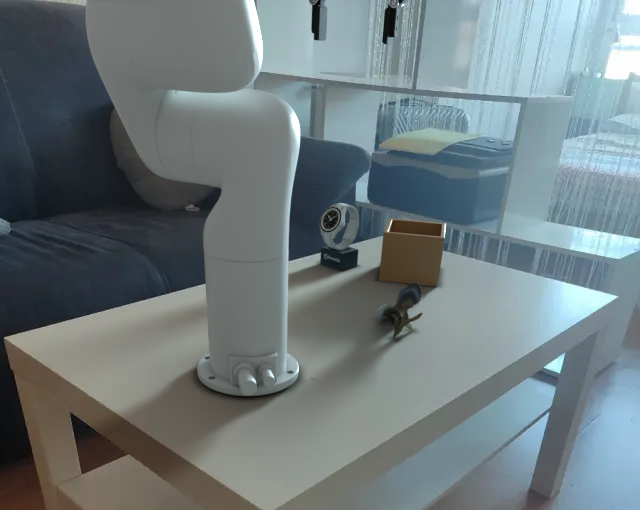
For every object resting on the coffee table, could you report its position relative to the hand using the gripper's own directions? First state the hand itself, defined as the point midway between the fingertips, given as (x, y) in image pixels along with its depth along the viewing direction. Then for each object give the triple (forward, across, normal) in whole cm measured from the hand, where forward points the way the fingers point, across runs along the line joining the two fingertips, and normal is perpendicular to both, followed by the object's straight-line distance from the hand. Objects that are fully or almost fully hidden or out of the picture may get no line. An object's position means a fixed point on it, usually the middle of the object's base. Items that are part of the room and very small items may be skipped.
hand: (353, 42), depth 86 cm
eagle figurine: (+36, +13, -9) cm, 39 cm away
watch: (+36, -5, +16) cm, 40 cm away
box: (+36, +8, +17) cm, 41 cm away
